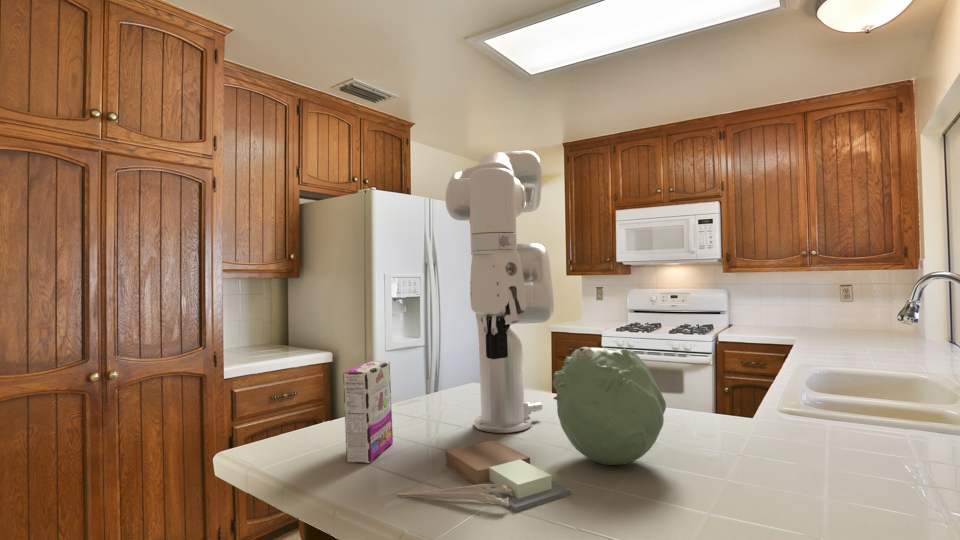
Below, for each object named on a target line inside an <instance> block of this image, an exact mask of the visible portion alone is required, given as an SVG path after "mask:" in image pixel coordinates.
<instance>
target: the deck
mask: <svg viewBox="0 0 960 540" xmlns="http://www.w3.org/2000/svg"><path fill="white" fill-rule="evenodd" d="M516 460H522V461H524V462H526V463H528V464H530V465H531V457H530V456H528V455H526V454H524V453H522V452H520V451H518V450H515V449H513V448H512V447H510V446H508V445H506V444H504V443H502V442H501V441H498V440H496V439H492V440H488V441H484V442H480V443H475V444H470V445H466V446H462V447H458V448H457V447H456V448H453V449H452V448H451V449H448V450H445V466H446V467H448V468H450V469H451V470H452V469H453V470H452V471H454V472H455V471H456V472H455V473H457V474H459V475H460V476H461V477H463V478H464V479H466V480H467V481H469V482H470V483H471V484H473V485H478V484H480V483H484V482H488V481H490V480H489V467H493V466H496V465H500V464H504V463H508V462H512V461H516Z"/></svg>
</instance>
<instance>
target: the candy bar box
mask: <svg viewBox="0 0 960 540" xmlns="http://www.w3.org/2000/svg"><path fill="white" fill-rule="evenodd" d="M390 363H391V362H390V361H374V360H373V361H367V362H366V363H362V364H360V365H358V366H356V367H354V368H353V367H352V368H351V369H348V370H346V371H344V372H342V375H343V376H342V378H343V379H342V380H343V403H344V404H343V405H344V425H345V426H344V427H345V429H344V430H345V450H346V451H345V453H346V463H350V464H372V463H373V462H374V461H375V460H377V458H378V457H379V456H380V455H382V454H383V453H384V452H385V451H386V450H387V449H388V448H389V447H390V446H391V445H392V444H393V443H394V441H393V440H394V439H393V437H394V436H393V415H392V414H393V413H392V389H391V367H390V366H391V365H390Z"/></svg>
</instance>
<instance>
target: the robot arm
mask: <svg viewBox="0 0 960 540" xmlns="http://www.w3.org/2000/svg"><path fill="white" fill-rule="evenodd" d="M542 183H543V167H542V162H541V159H540V157H539V156H538V154H536V153H535V152H534V151H531V150H517V151H515V150H514V151H511V150H510V151H496V152H495V151H494V152H490V153H488V154H485V155H484V156H483V157H482V158H481V159H480V161H479V162H478V164H477V165H474V166H472V167H468V168H465V169H461V170H458V171H456V172H454V173H453V174H452V175H451V176H450V178H449V181H448V184H447V186H446V189H445V207H446V211H447V213H448V214H449V216H450V218H452V219H453V220H457V221H469V230H470V256H471V263H470V279H469V280H470V281H469V283H470V285H469V291H470V292H469V298H470V307H471V310H472V312H474V313H475V319H476V324H477V325H476V326H477V335H478V351H479V353H478V354H479V357H478V359H479V381H480V382H479V384H480V385H479V386H480V388H479V389H480V390H479V391H480V393H479V394H480V415H479V416H477V417H475V418H474V420H473V421H474V422H473V423H474V427H475V428H476V429H477V430H479V431H483V432H487V433H493V434H494V433H497V434H507V433H509V434H510V433H516V432H521V431H525V430H527V429H529V428H530V427H531V426H532V425H533V424H532V423H533V422H532V421H533V420H532V418H531V416H529V415H531V413H535V412H541V411H542V410H543V404H542V403H541V402H540V401H537V402H533V403H530V401H527V402H526V401H525V393H524V391H525V389H524V388H525V387H524V364H523V363H524V358H523V357H524V356H523V344H522V341H521V339H520V337H519V336H518V335H517V334H516V332H515V331H513V330H512V328H511V325H515V324H516V325H517V324H518V325H519V324H522V325H524V324H525V325H527V324H541V323H547V322H549V321H550V320H552V317H553V315H554V310H555V300H554V290H553V281H552V271H551V263H550V262H551V261H550V257H549V254H548V251H547V248H545V246H543V244H540V243H535V242H526V243H517V240H518V239H517V217H519V216H521V215H522V213H532V212H534V211H537V209H538V208H539V207H540V204H541V199H542V197H541V196H542V186H543V184H542Z"/></svg>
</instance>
